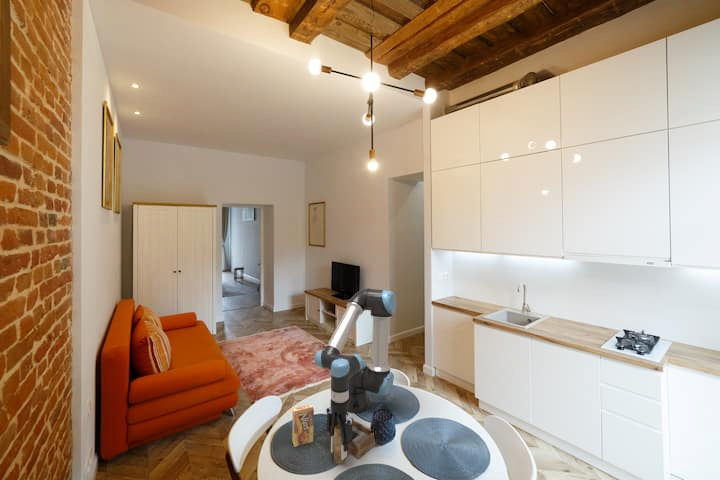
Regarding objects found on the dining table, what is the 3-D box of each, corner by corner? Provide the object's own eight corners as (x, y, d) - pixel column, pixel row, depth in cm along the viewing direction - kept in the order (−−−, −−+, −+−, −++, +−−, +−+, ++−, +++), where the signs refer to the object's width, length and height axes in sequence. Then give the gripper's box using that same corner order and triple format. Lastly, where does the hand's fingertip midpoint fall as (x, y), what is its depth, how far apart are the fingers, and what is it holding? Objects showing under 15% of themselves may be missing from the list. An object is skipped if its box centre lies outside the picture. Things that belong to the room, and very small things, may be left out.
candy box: (310, 436, 138) (311, 403, 138) (313, 442, 134) (314, 408, 134) (291, 441, 134) (292, 408, 134) (294, 448, 130) (294, 413, 130)
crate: (327, 438, 137) (327, 426, 136) (345, 426, 146) (345, 415, 146) (358, 459, 124) (358, 446, 124) (375, 444, 133) (376, 432, 133)
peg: (331, 461, 123) (332, 427, 123) (338, 455, 126) (339, 423, 126) (338, 466, 120) (339, 431, 120) (345, 460, 123) (346, 427, 123)
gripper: (318, 394, 126) (317, 448, 126) (349, 411, 114) (348, 471, 114) (331, 387, 132) (330, 439, 132) (362, 403, 120) (361, 460, 120)
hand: (338, 454), depth 123 cm, fingers open, 5 cm apart
